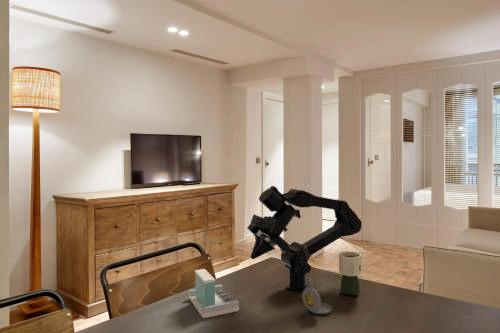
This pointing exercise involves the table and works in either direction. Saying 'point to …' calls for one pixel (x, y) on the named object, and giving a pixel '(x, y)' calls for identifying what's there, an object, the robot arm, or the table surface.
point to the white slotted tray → (221, 303)
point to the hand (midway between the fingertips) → (251, 258)
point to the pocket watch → (314, 301)
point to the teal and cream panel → (205, 287)
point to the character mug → (350, 272)
